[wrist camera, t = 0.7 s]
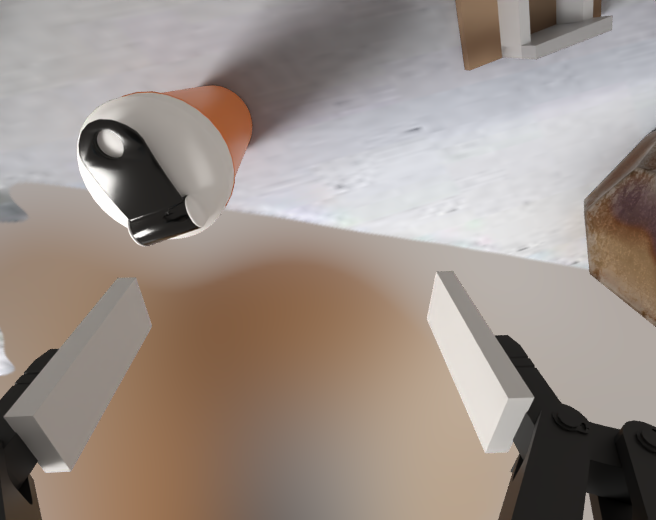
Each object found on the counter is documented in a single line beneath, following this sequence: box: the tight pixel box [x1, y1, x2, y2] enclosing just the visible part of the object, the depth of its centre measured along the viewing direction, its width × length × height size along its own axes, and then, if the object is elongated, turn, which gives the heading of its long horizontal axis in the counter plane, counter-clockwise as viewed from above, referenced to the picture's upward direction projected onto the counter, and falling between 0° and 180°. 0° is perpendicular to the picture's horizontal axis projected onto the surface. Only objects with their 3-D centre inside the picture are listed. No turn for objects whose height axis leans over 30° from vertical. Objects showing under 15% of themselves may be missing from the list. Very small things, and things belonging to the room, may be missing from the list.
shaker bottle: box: [77, 85, 252, 246], centre depth 28 cm, size 9×9×20 cm
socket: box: [497, 0, 613, 59], centre depth 29 cm, size 6×6×6 cm
